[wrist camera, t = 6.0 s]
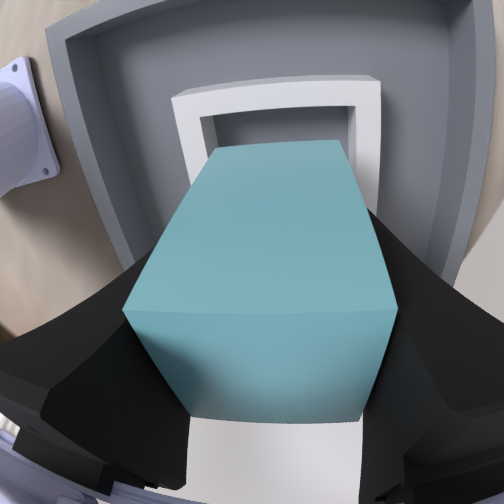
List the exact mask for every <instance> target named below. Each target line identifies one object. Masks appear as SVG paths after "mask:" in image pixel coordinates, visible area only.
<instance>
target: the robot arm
mask: <svg viewBox="0 0 504 504" xmlns="http://www.w3.org/2000/svg"><path fill="white" fill-rule="evenodd" d="M17 66H18V69H17ZM46 168H47V169H48V171H49V172H48V171H47V169H46ZM59 172H60V166H59V163H58V160H57V157H56V154H55V152H54V149H53V146H52V143H51V140H50V136H49V133H48V130H47V127H46V124H45V120H44V117H43V114H42V110H41V106H40V103H39V99H38V95H37V92H36V88H35V84H34V79H33V75H32V71H31V66H30V62H29V59H28V57H27V56H22V57H19V58H17V59H16V60H14V61H13V62H11V63H10V64H8V65H7V66H5V67H4V68H2V69H1V70H0V198H1V197H2V196H4V195H5V194H6V193H7V192H8V191H9V190H11V189H12V188H16V187H19V186H23V185H26V184H29V183H33V182H37V181H40V180H44V179H48V178H52V177H55V176H56V175H58V174H59ZM367 211H368V214H369V216H370V219H371V222H372V225H373V228H374V231H375V234H376V237H377V240H378V243H379V246H380V249H381V252H382V255H383V258H384V261H385V265H386V268H387V271H388V275H389V278H390V281H391V285H392V288H393V292H394V296H395V299H396V303H397V307H398V310H397V314H396V318H395V321H394V324H393V328H392V331H391V334H390V338H389V341H388V344H387V347H386V350H385V353H384V356H383V359H382V362H381V365H380V368H379V371H378V373H377V376H376V379H375V382H374V384H373V387H372V390H371V392H370V395H369V397H368V400H367V402H366V405H365V407H364V410H363V443H362V444H363V445H362V464H361V478H360V490H359V504H504V323H503V322H501V321H499V320H498V319H496V318H495V317H493V316H492V315H490V314H489V313H487V312H486V311H484V310H483V309H481V308H480V307H478V306H477V305H475V304H474V303H473V302H471V301H470V300H468V299H467V298H466V297H464V296H463V295H462V294H460V293H459V292H458V291H456V290H455V289H454V288H453V287H452V286H450V285H449V284H448V283H447V282H445V281H444V280H443V279H441V278H440V277H439V276H438V275H437V274H435V273H434V272H433V271H432V270H431V269H430V268H428V267H427V266H426V265H425V264H424V263H423V262H422V261H421V260H420V259H419V258H417V257H416V256H415V255H414V254H413V253H412V252H411V251H410V250H409V249H408V248H407V247H406V246H405V245H404V244H403V243H402V242H401V241H400V240H399V239H398V238H397V237H396V236H395V235H394V234H393V233H392V232H391V231H390V230H389V229H388V228H387V227H386V226H385V225H384V224H383V223H382V222H381V221H380V220H379V219H378V218H377V217H376V216H375V215H374V214H373V213H372V212H371V211H370V210H369V209H368V208H367ZM155 247H156V246H155ZM155 247H154V248H155ZM154 248H152V249H151V250H150V251H149V252H148V253H147V254H145V255H144V256H143V257H142V258H141V259H139V260H138V261H137V262H136V263H134V264H133V265H132V266H131V267H130V268H128V269H127V270H126V271H125V272H124V273H122V274H121V275H120V276H118V277H117V278H116V279H115V280H113V281H112V282H111V283H109V284H108V285H106V286H105V287H104V288H102V289H101V290H99V291H98V292H97V293H95V294H94V295H92V296H91V297H89V298H88V299H86V300H84V301H83V302H81V303H79V304H78V305H76V306H75V307H73V308H71V309H70V310H68V311H67V312H65V313H63V314H62V315H60V316H58V317H56V318H55V319H53V320H51V321H49V322H47V323H45V324H43V325H41V326H40V327H38V328H36V329H34V330H32V331H30V332H27V333H25V334H23V335H21V336H18V337H16V338H14V339H11V340H9V341H7V342H4V343H2V344H0V413H1V414H3V415H4V416H5V417H6V418H8V419H9V420H10V421H12V422H13V423H14V424H16V425H17V426H18V427H20V429H19V432H18V434H17V437H15V436H13V435H11V434H10V433H8V432H6V431H5V430H3V429H1V428H0V504H98V502H97V500H96V499H95V498H97V499H100V500H102V501H105V502H108V503H110V504H206V503H201V502H195V501H190V500H185V499H180V498H175V497H171V496H167V495H162V494H158V493H154V492H151V491H147V490H144V487H145V486H147V487H150V488H155V489H157V488H158V487H162V488H167V489H171V490H178V489H180V488H182V487H183V486H184V485H185V484H186V468H187V448H188V435H189V426H190V425H189V424H190V417H191V415H190V414H189V412H188V411H187V410H186V408H185V407H184V406H183V404H182V403H181V401H180V400H179V399H178V397H177V396H176V394H175V393H174V392H173V390H172V389H171V387H170V386H169V384H168V383H167V381H166V380H165V378H164V377H163V375H162V374H161V372H160V371H159V369H158V368H157V366H156V365H155V363H154V362H153V360H152V359H151V357H150V355H149V354H148V352H147V351H146V349H145V347H144V346H143V344H142V343H141V341H140V339H139V338H138V336H137V334H136V333H135V331H134V329H133V328H132V326H131V324H130V322H129V321H128V319H127V317H126V316H125V314H124V312H123V310H122V309H123V307H124V305H125V303H126V301H127V299H128V297H129V295H130V293H131V291H132V289H133V287H134V286H135V284H136V282H137V280H138V278H139V276H140V274H141V272H142V270H143V269H144V267H145V265H146V263H147V261H148V259H149V258H150V256H151V254H152V252H153V250H154ZM94 497H95V498H94Z"/></svg>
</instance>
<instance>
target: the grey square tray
mask: <svg viewBox="0 0 504 504" xmlns="http://www.w3.org/2000/svg"><path fill="white" fill-rule="evenodd" d="M45 33H46V38H47V43H48V48H49V53H50V58H51V63H52V67H53V72H54V76H55V80H56V84H57V88H58V92H59V96H60V100H61V103H62V107H63V111H64V114H65V118H66V121H67V125H68V128H69V131H70V134H71V138H72V141H73V144H74V147H75V150H76V153H77V156H78V159H79V162H80V165H81V168H82V171H83V173H84V176H85V179H86V182H87V184H88V187H89V190H90V192H91V195H92V198H93V200H94V203H95V205H96V208H97V210H98V213H99V215H100V218H101V220H102V223H103V225H104V227H105V230H106V232H107V235H108V237H109V239H110V242H111V244H112V246H113V248H114V251H115V253H116V255H117V257H118V259H119V262H120V264H121V266H122V268H123V270H124V272H125V271H126V270H127V269H128V268H130V267H131V266H132V265H133V264H134V263H136V262H137V261H138V260H139V259H141V258H142V257H143V256H144V255H145V254H147V253H148V252H149V251H150V250H151V249H152V248H154V247H155V246H156V245H157V243H158V241H159V240H160V238H161V236H162V234H163V233H164V231H165V229H166V227H167V226H168V224H169V222H170V220H171V219H172V217H173V215H174V214H175V212H176V210H177V209H178V207H179V205H180V204H181V202H182V200H183V199H184V197H185V195H186V194H187V192H188V190H189V189H190V187H191V185H192V184H193V182H194V181H195V179H196V177H197V176H198V174H199V173H200V171H201V169H202V168H203V166H204V165H205V163H206V162H207V160H208V159H209V157H210V155H211V154H212V152H213V151H214V149H215V148H220V147H229V146H239V145H250V144H262V143H276V142H292V141H314V140H339V141H340V143H341V146H342V148H343V150H344V152H345V155H346V157H347V160H348V162H349V164H350V167H351V169H352V172H353V174H354V177H355V179H356V182H357V184H358V187H359V189H360V192H361V195H362V197H363V200H364V203H365V205H366V208H368V209H369V210H370V211H371V212H372V213H373V214H374V215H375V216H376V217H377V218H378V219H379V220H380V221H381V222H382V223H383V224H384V225H385V226H386V227H387V228H388V229H389V230H390V231H391V232H392V233H393V234H394V235H395V236H396V237H397V238H398V239H399V240H400V241H401V242H402V243H403V244H404V245H405V246H406V247H407V248H408V249H409V250H410V251H411V252H412V253H413V254H414V255H415V256H416V257H417V258H419V259H420V260H421V261H422V262H423V263H424V264H425V265H426V266H427V267H428V268H430V269H431V270H432V271H433V272H434V273H435V274H437V275H438V276H439V277H440V278H441V279H443V280H444V281H445V282H447V283H448V284H449V285H450V286H452V287H453V285H454V283H455V280H456V277H457V274H458V271H459V268H460V265H461V262H462V259H463V256H464V253H465V250H466V247H467V243H468V240H469V237H470V233H471V229H472V226H473V222H474V218H475V214H476V210H477V206H478V202H479V198H480V193H481V188H482V184H483V179H484V173H485V168H486V162H487V156H488V150H489V143H490V135H491V127H492V117H493V106H494V91H495V31H494V17H493V6H492V0H101V1H99V2H97V3H95V4H92V5H90V6H88V7H86V8H84V9H82V10H80V11H78V12H76V13H74V14H72V15H70V16H68V17H66V18H64V19H62V20H60V21H58V22H57V23H55V24H53V25H51V26H49V27H48V28H46V29H45Z"/></svg>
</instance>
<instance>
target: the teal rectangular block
mask: <svg viewBox="0 0 504 504" xmlns="http://www.w3.org/2000/svg"><path fill="white" fill-rule="evenodd" d="M122 310H123V312H124V314H125V316H126V317H127V319H128V321H129V322H130V324H131V326H132V328H133V329H134V331H135V333H136V334H137V336H138V338H139V339H140V341H141V343H142V344H143V346H144V347H145V349H146V351H147V352H148V354H149V355H150V357H151V359H152V360H153V362H154V363H155V365H156V366H157V368H158V369H159V371H160V372H161V374H162V375H163V377H164V378H165V380H166V381H167V383H168V384H169V386H170V387H171V389H172V390H173V392H174V393H175V394H176V396H177V397H178V399H179V400H180V401H181V403H182V404H183V406H184V407H185V408H186V410H187V411H188V412H189V414H190V415H191V416H192V417H198V418H206V419H215V420H227V421H239V422H256V423H287V424H294V423H295V424H298V423H299V424H300V423H301V424H309V423H339V422H340V423H341V422H357V421H359V419H360V417H361V415H362V412H363V410H364V407H365V405H366V402H367V400H368V397H369V395H370V392H371V390H372V387H373V384H374V382H375V379H376V376H377V373H378V371H379V368H380V365H381V362H382V359H383V356H384V353H385V350H386V347H387V344H388V341H389V338H390V334H391V331H392V328H393V324H394V321H395V318H396V314H397V310H398V307H397V303H396V299H395V296H394V292H393V288H392V285H391V281H390V278H389V275H388V271H387V268H386V265H385V261H384V258H383V255H382V252H381V249H380V246H379V243H378V240H377V237H376V234H375V231H374V228H373V225H372V222H371V219H370V216H369V214H368V211H367V208H366V205H365V203H364V200H363V197H362V195H361V192H360V189H359V187H358V184H357V182H356V179H355V177H354V174H353V172H352V169H351V167H350V164H349V162H348V160H347V157H346V155H345V152H344V150H343V148H342V146H341V143H340V141H339V140H314V141H292V142H276V143H262V144H250V145H239V146H229V147H220V148H215V149H214V151H213V152H212V154H211V155H210V157H209V159H208V160H207V162H206V163H205V165H204V166H203V168H202V169H201V171H200V173H199V174H198V176H197V177H196V179H195V181H194V182H193V184H192V185H191V187H190V189H189V190H188V192H187V194H186V195H185V197H184V199H183V200H182V202H181V204H180V205H179V207H178V209H177V210H176V212H175V214H174V215H173V217H172V219H171V220H170V222H169V224H168V226H167V227H166V229H165V231H164V233H163V234H162V236H161V238H160V240H159V241H158V243H157V245H156V247H155V248H154V250H153V252H152V254H151V256H150V258H149V259H148V261H147V263H146V265H145V267H144V269H143V270H142V272H141V274H140V276H139V278H138V280H137V282H136V284H135V286H134V287H133V289H132V291H131V293H130V295H129V297H128V299H127V301H126V303H125V305H124V307H123V309H122Z"/></svg>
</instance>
